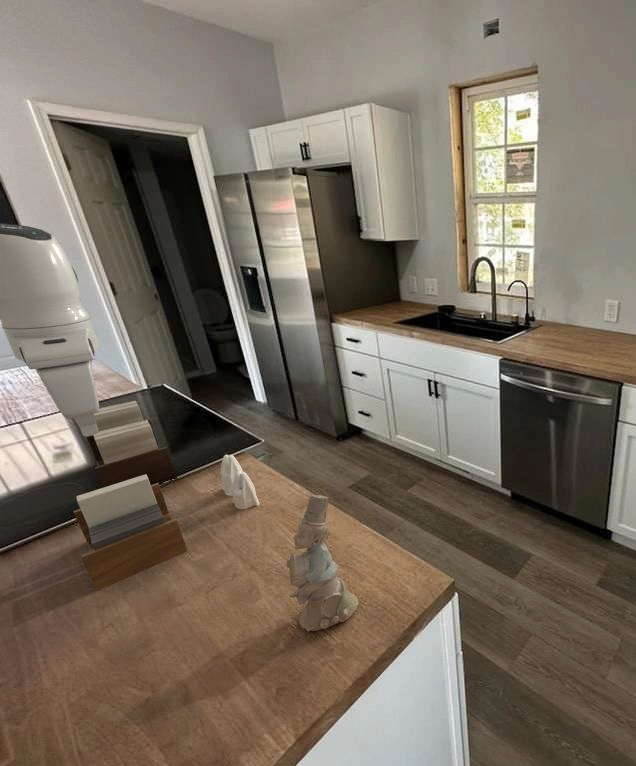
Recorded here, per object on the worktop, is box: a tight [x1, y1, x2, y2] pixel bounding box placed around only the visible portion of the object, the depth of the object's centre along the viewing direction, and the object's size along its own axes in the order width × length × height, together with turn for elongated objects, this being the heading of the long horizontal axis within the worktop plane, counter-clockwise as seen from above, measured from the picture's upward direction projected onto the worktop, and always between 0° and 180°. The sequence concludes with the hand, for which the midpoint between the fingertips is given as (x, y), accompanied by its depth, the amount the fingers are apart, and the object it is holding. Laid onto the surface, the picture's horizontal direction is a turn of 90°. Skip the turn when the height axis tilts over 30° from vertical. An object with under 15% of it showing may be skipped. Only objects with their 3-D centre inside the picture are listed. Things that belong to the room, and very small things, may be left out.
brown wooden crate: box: [86, 400, 178, 488], centre depth 97 cm, size 21×12×14 cm, turn 48°
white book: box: [76, 474, 157, 528], centre depth 73 cm, size 2×9×13 cm, turn 138°
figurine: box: [285, 494, 359, 632], centre depth 62 cm, size 9×8×20 cm
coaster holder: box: [73, 483, 188, 592], centre depth 74 cm, size 16×12×10 cm
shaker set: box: [220, 454, 260, 510], centre depth 88 cm, size 12×4×11 cm, turn 49°
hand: (88, 424), depth 66 cm, fingers open, 8 cm apart
